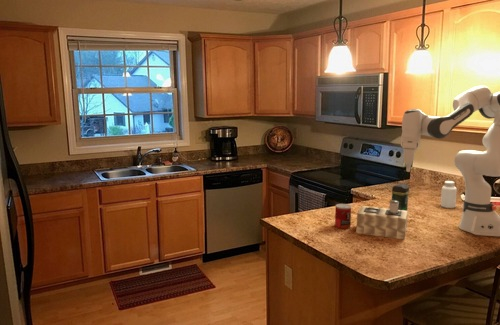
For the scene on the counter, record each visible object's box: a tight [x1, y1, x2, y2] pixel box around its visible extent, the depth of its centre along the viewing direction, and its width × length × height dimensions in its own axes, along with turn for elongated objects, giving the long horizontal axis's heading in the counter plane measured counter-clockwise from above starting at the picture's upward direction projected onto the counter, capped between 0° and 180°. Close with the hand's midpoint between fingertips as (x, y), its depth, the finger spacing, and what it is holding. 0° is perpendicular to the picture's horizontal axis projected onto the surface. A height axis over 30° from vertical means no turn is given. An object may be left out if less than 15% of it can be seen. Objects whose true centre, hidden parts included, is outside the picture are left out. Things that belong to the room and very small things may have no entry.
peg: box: [388, 199, 399, 214], centre depth 198 cm, size 4×4×10 cm
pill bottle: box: [440, 180, 458, 209], centre depth 243 cm, size 8×8×15 cm
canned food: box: [334, 203, 352, 230], centre depth 208 cm, size 8×8×11 cm
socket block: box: [355, 205, 409, 240], centre depth 201 cm, size 22×14×10 cm, turn 66°
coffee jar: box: [391, 182, 410, 211], centre depth 222 cm, size 10×8×19 cm
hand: (408, 170), depth 203 cm, fingers open, 4 cm apart
